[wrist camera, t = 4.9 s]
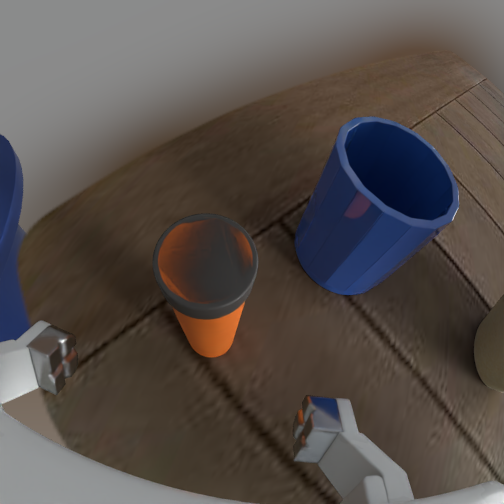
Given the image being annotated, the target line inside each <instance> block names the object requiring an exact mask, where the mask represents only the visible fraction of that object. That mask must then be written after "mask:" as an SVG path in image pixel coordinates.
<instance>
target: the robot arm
mask: <svg viewBox="0 0 504 504" xmlns="http://www.w3.org/2000/svg"><path fill="white" fill-rule="evenodd" d="M75 345H76V337H75V336H74V335H73V334H72V333H69V332H67V331H65V330H63V329H60V328H58V327H56V326H54V325H51V324H49V323H47V322H45V321H38V322H37V323H36V324H35V325H34V326H32V327H31V328H30V329H29V330H28V331H27V332H25V333H24V334H23V335H22V336H21V337H20V338H18V339H17V340H16V341H15V340H9V341H4V342H0V504H257V503H249V502H242V501H235V500H229V499H223V498H217V497H212V496H207V495H202V494H197V493H193V492H189V491H184V490H180V489H176V488H173V487H169V486H165V485H162V484H158V483H155V482H152V481H148V480H145V479H142V478H139V477H136V476H133V475H130V474H127V473H125V472H122V471H119V470H116V469H114V468H111V467H109V466H106V465H104V464H101V463H99V462H96V461H94V460H92V459H89V458H87V457H85V456H83V455H80V454H78V453H76V452H74V451H72V450H70V449H68V448H66V447H64V446H62V445H60V444H58V443H56V442H54V441H52V440H50V439H48V438H46V437H44V436H43V435H41V434H39V433H37V432H36V431H34V430H32V429H30V428H29V427H27V426H25V425H24V424H22V423H21V422H19V421H17V420H16V419H14V418H13V417H11V416H10V415H8V414H6V413H5V411H4V409H3V407H2V405H1V404H3V403H5V402H8V401H10V400H12V399H14V398H17V397H19V396H21V395H23V394H26V393H28V392H30V391H32V390H34V389H36V388H38V386H39V387H41V388H43V389H45V390H47V391H49V392H51V393H53V394H56V395H58V393H59V392H60V391H61V389H62V388H63V387H64V386H65V384H66V383H65V379H66V378H69V377H72V375H73V374H74V373H75V371H76V368H77V365H78V353H77V352H76V350H75V349H74V346H75ZM293 437H294V438H295V439H296V442H295V444H294V446H293V451H294V461H299V462H309V463H318V466H319V467H320V468H321V470H322V471H323V472H324V474H325V475H326V477H327V478H328V479H329V481H330V482H331V483H332V485H333V486H334V487H335V489H336V490H337V491H338V493H339V494H340V495H341V497H342V498H343V500H342V501H341V502H340V503H339V504H504V485H503V484H501V483H499V482H497V481H488V482H484V483H481V484H478V485H475V486H471V487H468V488H464V489H461V490H457V491H453V492H449V493H445V494H440V495H436V496H431V497H426V498H421V499H415V500H414V497H413V493H412V490H411V487H410V483H409V480H408V477H407V474H406V472H405V471H404V470H403V469H402V468H400V467H399V466H398V465H397V464H396V463H395V462H394V461H393V460H391V459H390V458H389V457H388V456H387V455H386V454H385V453H384V452H383V451H381V450H380V449H379V448H378V447H377V446H376V445H375V444H374V443H373V442H372V441H370V440H369V439H368V438H367V437H366V436H365V435H364V434H363V433H359V432H358V428H357V425H356V421H355V417H354V413H353V410H352V406H351V402H350V400H349V399H342V398H329V397H320V396H311V395H306V396H305V397H304V399H303V401H302V409H301V410H299V411H298V412H297V414H296V416H295V419H294V423H293Z"/></svg>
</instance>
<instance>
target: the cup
mask: <svg viewBox="0 0 504 504" xmlns="http://www.w3.org/2000/svg"><path fill="white" fill-rule="evenodd" d="M458 208H459V194H458V186H457V183H456V181H455V179H454V176H453V174H452V172H451V170H450V167H449V166H448V165H447V163H446V162H445V161H444V159H443V158H442V157H441V155H440V154H439V153H438V152H437V150H436V149H435V148H434V147H433V146H432V145H430V144H429V143H428V142H427V141H426V140H424V139H423V138H422V137H421V136H420V135H418V134H417V133H415V132H414V131H412V130H410V129H408V128H406V127H405V126H403V125H401V124H399V123H397V122H394V121H391V120H387V119H383V118H378V117H373V116H372V117H360V118H354V119H352V120H351V121H349V122H348V123H346V124H345V125H343V126H342V127H341V128H340V130H339V132H338V135H337V137H336V139H335V142H334V144H333V146H332V149H331V151H330V153H329V156H328V158H327V160H326V163H325V165H324V167H323V169H322V172H321V174H320V176H319V179H318V181H317V183H316V185H315V188H314V190H313V192H312V195H311V197H310V199H309V201H308V204H307V206H306V208H305V210H304V212H303V215H302V217H301V220H300V222H299V225H298V227H297V230H296V234H295V249H296V253H297V257H298V259H299V261H300V264H301V265H302V267H303V269H304V270H305V272H306V273H307V274H308V275H309V276H310V277H311V278H312V280H314V281H315V282H316V283H317V284H319V285H320V286H322V287H323V288H325V289H327V290H329V291H331V292H334V293H337V294H342V295H357V294H362V293H364V292H367V291H369V290H370V289H372V288H373V287H375V286H376V285H379V284H380V283H381V282H382V281H384V280H385V279H386V278H387V277H389V276H390V275H391V274H392V273H393V272H395V271H396V270H397V269H398V268H400V267H401V266H402V265H403V264H404V263H406V262H407V261H408V260H409V259H410V258H411V257H413V256H414V255H415V254H416V253H417V252H418V251H420V250H421V249H422V248H423V247H424V246H425V245H426V244H428V243H429V242H430V241H431V240H432V239H433V238H434V237H435V236H437V235H438V234H439V233H440V232H441V231H442V230H443V229H444V228H445V227H446V226H447V225H449V224H450V223H451V222H452V220H453V218H454V216H455V214H456V212H457V210H458Z"/></svg>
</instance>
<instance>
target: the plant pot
mask: <svg viewBox="0 0 504 504" xmlns="http://www.w3.org/2000/svg"><path fill="white" fill-rule="evenodd" d="M474 358H475V364H476V368H477V371H478V374H479V376H480V378H481V380H482V381H483V383H484V384H485V385H486V386H488V387H489V388H491V389H493V390H496V391H499V392H502V393H504V295H503V296H502V297H501V298H500V300H499V301H498V302H497V303H496V305H495V306H494V307H493V308H492V309H491V311H490V312H489V313H488V314H487V316H486V317H485V318H484V319H483V321H482V322H481V324H480V325H479V327H478V329H477V332H476V336H475V342H474Z"/></svg>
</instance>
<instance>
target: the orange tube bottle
mask: <svg viewBox="0 0 504 504" xmlns="http://www.w3.org/2000/svg"><path fill="white" fill-rule="evenodd" d="M257 270H258V253H257V249H256V246H255V244H254V242H253V240H252V238H251V237H250V235H249V234H248V233H247V231H246V230H245V229H244V228H243V227H242V226H240V225H239V224H238V223H236V222H235V221H233V220H231V219H229V218H227V217H224V216H221V215H216V214H195V215H191V216H188V217H185V218H183V219H181V220H179V221H177V222H175V223H174V224H172V225H171V226H170V227H169V228H168V229H167V230H166V231H165V232H164V233H163V234H162V236H161V237H160V239H159V241H158V242H157V244H156V247H155V250H154V254H153V271H154V276H155V278H156V281H157V283H158V285H159V287H160V289H161V292H162V294H163V295H164V297H165V299H166V300H167V301H168V303H169V304H170V305H171V306H172V308H173V310H174V312H175V314H176V317H177V319H178V321H179V323H180V325H181V327H182V329H183V331H184V333H185V335H186V337H187V339H188V341H189V343H190V345H191V347H192V348H193V349H194V350H195V351H196V352H197V353H198V354H200V355H202V356H205V357H218V356H220V355H222V354H224V353H225V352H227V351H228V350H229V348H230V347H231V345H232V342H233V339H234V336H235V333H236V329H237V326H238V323H239V319H240V316H241V313H242V309H243V306H244V303H245V300H246V299H247V298H248V296H249V294H250V292H251V290H252V287H253V284H254V281H255V278H256V275H257Z"/></svg>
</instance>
